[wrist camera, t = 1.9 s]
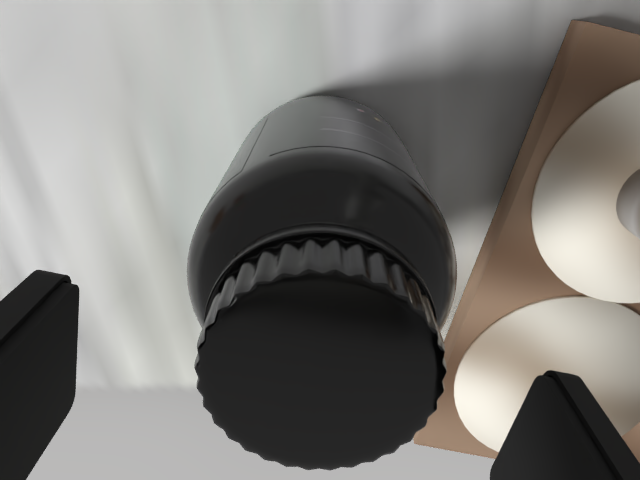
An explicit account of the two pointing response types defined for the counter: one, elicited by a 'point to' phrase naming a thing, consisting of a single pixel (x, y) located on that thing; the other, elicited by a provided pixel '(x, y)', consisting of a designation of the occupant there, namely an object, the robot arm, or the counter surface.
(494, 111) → the counter surface
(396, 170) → the supplement bottle
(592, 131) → the board
